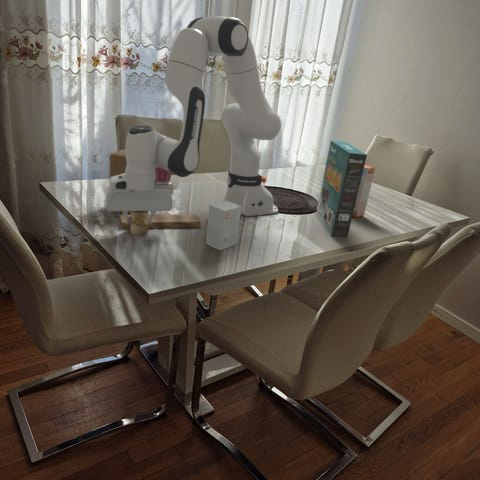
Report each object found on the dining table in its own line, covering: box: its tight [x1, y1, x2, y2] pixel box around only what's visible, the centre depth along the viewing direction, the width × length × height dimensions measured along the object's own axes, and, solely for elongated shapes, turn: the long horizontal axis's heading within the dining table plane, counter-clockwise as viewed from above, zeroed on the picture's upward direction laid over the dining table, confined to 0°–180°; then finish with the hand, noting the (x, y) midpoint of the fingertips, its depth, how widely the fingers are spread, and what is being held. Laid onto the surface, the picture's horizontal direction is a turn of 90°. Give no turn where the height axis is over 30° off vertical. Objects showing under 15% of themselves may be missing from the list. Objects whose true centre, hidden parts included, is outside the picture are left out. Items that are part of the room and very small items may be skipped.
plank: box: [119, 213, 202, 230], centre depth 143 cm, size 26×7×2 cm, turn 109°
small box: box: [205, 200, 242, 252], centre depth 131 cm, size 8×6×13 cm
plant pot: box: [155, 167, 173, 183], centre depth 175 cm, size 14×14×13 cm
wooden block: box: [109, 149, 130, 214], centre depth 149 cm, size 10×10×20 cm
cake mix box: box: [315, 140, 368, 239], centre depth 156 cm, size 22×6×30 cm, turn 5°
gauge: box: [129, 211, 150, 235], centre depth 136 cm, size 5×9×7 cm, turn 20°
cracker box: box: [352, 164, 376, 218], centre depth 177 cm, size 14×6×21 cm, turn 38°
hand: (138, 223), depth 134 cm, fingers closed on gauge, 5 cm apart
